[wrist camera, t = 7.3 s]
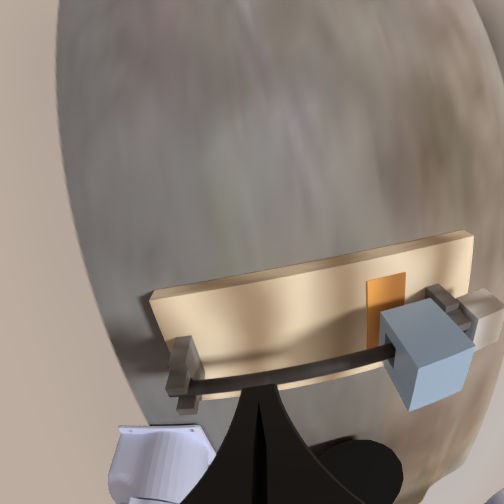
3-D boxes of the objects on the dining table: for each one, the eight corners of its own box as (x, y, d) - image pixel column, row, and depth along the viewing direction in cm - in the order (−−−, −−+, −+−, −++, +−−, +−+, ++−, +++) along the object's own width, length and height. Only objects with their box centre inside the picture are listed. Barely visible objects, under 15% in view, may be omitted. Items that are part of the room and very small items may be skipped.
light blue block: (378, 354, 20) (408, 411, 15) (380, 311, 19) (418, 368, 13) (424, 340, 20) (461, 390, 14) (430, 297, 18) (475, 345, 13)
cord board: (194, 388, 25) (185, 448, 18) (154, 290, 21) (126, 345, 15) (450, 331, 24) (486, 373, 17) (462, 229, 20) (516, 260, 14)
